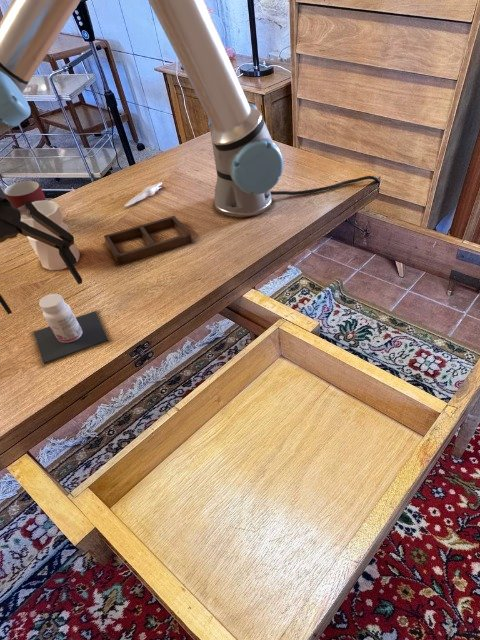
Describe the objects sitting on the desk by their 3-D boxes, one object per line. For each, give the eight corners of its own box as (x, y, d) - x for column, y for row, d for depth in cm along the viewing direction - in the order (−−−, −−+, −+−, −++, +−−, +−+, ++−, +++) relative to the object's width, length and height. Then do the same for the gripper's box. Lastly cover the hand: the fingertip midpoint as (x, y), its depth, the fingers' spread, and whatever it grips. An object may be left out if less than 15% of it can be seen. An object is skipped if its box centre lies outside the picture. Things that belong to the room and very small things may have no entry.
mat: (95, 312, 91) (95, 311, 90) (108, 340, 85) (108, 339, 85) (34, 333, 87) (33, 331, 86) (44, 364, 81) (43, 362, 81)
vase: (36, 271, 100) (8, 221, 91) (48, 249, 106) (23, 200, 97) (74, 269, 100) (50, 219, 91) (85, 248, 106) (63, 199, 97)
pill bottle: (52, 336, 85) (31, 301, 79) (74, 323, 88) (55, 288, 81) (65, 347, 83) (45, 312, 77) (87, 334, 86) (69, 298, 79)
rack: (176, 222, 113) (174, 215, 112) (192, 242, 107) (190, 234, 106) (106, 243, 108) (103, 235, 106) (119, 265, 101) (116, 257, 100)
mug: (10, 229, 112) (-12, 190, 105) (35, 215, 117) (16, 176, 109) (40, 238, 109) (20, 198, 102) (64, 223, 114) (47, 184, 106)
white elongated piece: (159, 186, 127) (157, 179, 125) (166, 188, 126) (164, 181, 125) (121, 208, 119) (118, 201, 117) (128, 210, 118) (126, 203, 116)
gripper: (46, 178, 88) (106, 276, 92) (-94, 222, 78) (-20, 329, 82) (43, 158, 81) (108, 264, 85) (-111, 203, 71) (-28, 321, 75)
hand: (46, 296), depth 84 cm, fingers open, 13 cm apart
